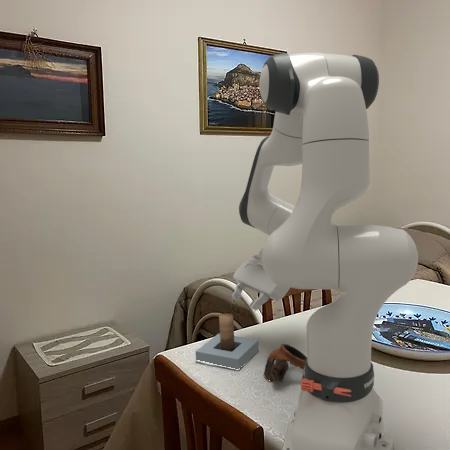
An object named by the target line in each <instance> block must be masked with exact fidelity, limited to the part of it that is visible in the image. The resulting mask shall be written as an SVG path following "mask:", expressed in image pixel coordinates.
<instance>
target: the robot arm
mask: <svg viewBox="0 0 450 450" xmlns="http://www.w3.org/2000/svg"><path fill="white" fill-rule="evenodd" d="M258 83H259V84H258V85H259V94H260V96H261V101H262V103H263V105H264V106H265V107H266V108H267V109H269V110H270V111H273V112H275V114H274V119H273V126H272V131H271V133H270V135H269V136H268V135H267V136H265V137H264V138H263V139H262V140H261V141H260V143H259V145H258V147H257V149H256V152H255V155H254V158H253V161H252V165H251V169H250V173H249V176H248V180H247V183H246V187H245V191H244V193H243V195H242V198H241V199H240V202H239V206H238V212H239V213H238V214H239V217H240V221H241V222H242V223H243V224H244V225H248V226H249V227H251V228H254V229H256V230H259V231H260V232H262V233H264V234H266V235H268V237H267V239H266V240H265V242H264V244H263V247H262V248H261V250H259V252H258V254H257V255H255V254H254V255H253V256H252V257H251V256H250V257H249V258H247V259H246V260H244V262H242V263H241V265H240V266H239V267H238V268H237V269H236V270H235V271H234V274H233V276H232V278H233V280H234V281H236V285H235V288H234V292H233V293H232V295H231V298H232V299H233V300H235V301H240V299H241V298H242V292H243V290H244V291H245V289H246V288H248V289H249V290H252V291H254V292H256V293H258V294H259V296H258V297H257V298H256V299H255V300H252V301H251V303H249V307H250V309H252V310H254V311H258V310H259V308H260V307H261V306H262V305H264V304H266V303H267V302H268V301H269V299H271V300H274V301H275V302H278V301H280V300H282V299H283V298H284V297H285V296H286V294H287V293H288V292H289V290H290V289H296V290H297V289H298V290H338V291H341V293H340V295H339V296H338V297H337V298H336V299H335V300H334V301H332V302H330V303H329V304H326V305H323V306H322V307H320V308H318V309H317V310H315V311H314V312H313V313H312V314H311V315H310V316H309V318H308V320H307V323H306V330H305V331H306V357H307V359H306V361H305V367H304V371H303V372H304V378H303V379H302V380H301V383H300V392H299V396H298V402H297V406H296V410H295V411H294V414H293V415H292V417H290V420H289V423H288V426H287V430H286V435H285V438H284V442H283V446H282V449H281V450H394V448H395V445H394V440H393V439H392V438H391V437H390V436H388V435H387V434H385V430H384V428H385V427H384V408H383V407H384V404H383V399H382V398H381V397H380V395H378V393H377V391H376V390H375V388H374V385H375V384H374V383H375V382H374V381H375V371H374V365H373V362H372V340H373V332H374V331H373V330H374V325H375V322H376V319H377V317H378V313H379V312H380V310H381V309H382V307H383V306H384V305H385V303H386V302H387V300H388V299H390V297H391V296H392V295H393V294H395V293H396V292H397V291H399V290H400V289H401V288H403V287H404V286H406V285H407V284H409V282H410V281H411V280H412V279H413V277H414V275H415V273H416V271H417V269H418V264H419V252H418V248H417V245H416V243H415V241H414V239H413V238H412V236H411V235H410V234H409V233H408V232H407V231H406V230H404V229H403V228H397V227H392V226H387V225H381V224H380V225H379V224H353V225H352V224H351V225H337V224H333V223H332V217H333V215H334V214H335V213H336V211H338V210H339V209H341V208H343V207H345V206H347V205H349V204H351V203H353V202H355V201H356V200H358V199H359V198H361V197H362V196H363V195H364V194H365V193H366V191H367V190H368V189H369V185H370V179H371V178H370V176H371V175H370V136H369V135H370V133H369V120H368V113H367V109H369V108H370V107H371V105H372V104H374V102H375V100H376V98H377V95H378V91H379V85H380V75H379V70H378V67H377V65H376V63H375V62H374V61H373V59H371V58H370V57H368V56H363V55H358V54H351V55H346V54H339V53H326V52H325V53H323V52H321V51H315V52H313V51H310V52H299V53H292V54H291V53H290V54H288V53H287V52H285V53H284V52H283V53H278V54H273V55H271V56H269V57H268V58H267V59H266V61H265V62H264V64H263V66H262V70H261V72H260V77H259V81H258ZM299 165H302V171H301V183H300V184H301V185H300V190H299V196H298V197H297V198H298V199H297V201H296V203H295V205H294V204H293V203H290V202H288V201H285V200H283V199H281V198H279V197H277V196H275V195H274V194H272V193H271V192H270V190H269V187H268V186H269V183H270V180H271V177H272V173H273V171H274V167H275V166H276V167H278V166H281V167H283V166H284V167H293V166H299Z"/></svg>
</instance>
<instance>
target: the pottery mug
mask: <svg viewBox="0 0 450 450" xmlns="http://www.w3.org/2000/svg"><path fill="white" fill-rule="evenodd" d="M306 359H307V355H305V354H304V353H303V352H301V351H300V350H299V349H298V348H296V347H294V346H292V345H290V344H287V343H282V344H281V345H280V346H279V348H276V349H274V350H273V351H272V352H271V353H270V355H268V357H267V360H266V362H265V365H264V371H263V375H264V378H265V379H266V380H267V379H268V380H270V381H271V380H273V381H275V382H277V383H280V382H281V383H282V382H283V380H284V377H285V375H286V373H287V372H288V370H289V366H294V367H296V368H299V369H301V370H303V371H302V372H303V373H302V379H303V378H304V367H305V361H306ZM268 380H267V381H268ZM271 382H272V381H271Z"/></svg>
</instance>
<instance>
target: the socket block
mask: <svg viewBox="0 0 450 450" xmlns="http://www.w3.org/2000/svg"><path fill="white" fill-rule="evenodd" d="M234 343H235V350H234V351H233V352H230V351H225V350H221V344H220V333H217V334H216V335H215V336H213V337H212V338H211V339H209V340H208V341H207V342H205V343H204V344H203V345H202V346H201V347H198V349H197V350H196V351H195V361H196V360H200V361H205V362H209V363H213V364H217V365H222V366H226V367H231V368H235V369H239V368H241V366H243V365H244V364H245V363H246V362H247V361H248V360H249V359H250V358H251V357H252V358H253V357H254V356H255V355H256V354H257V353H259V351H260V350H259V349H260V347H259V339H255V338H248V337H242V336H235V335H234ZM252 358H251V359H252ZM251 359H250V360H251ZM250 360H249V361H250ZM249 361H248V362H249ZM248 362H247V363H248ZM247 363H246V364H247ZM246 364H245V365H246ZM245 365H244V366H245ZM244 366H243V367H244ZM241 369H242V368H241Z"/></svg>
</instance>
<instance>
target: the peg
mask: <svg viewBox="0 0 450 450" xmlns="http://www.w3.org/2000/svg"><path fill="white" fill-rule="evenodd" d="M218 322H219V334H220V344H221V350H225V351H230V352H233V351H234V350H235V343H234V336H235V331H234V330H235V328H234V327H235V325H234V315H233V314H232V313H222V314H219V316H218Z"/></svg>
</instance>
